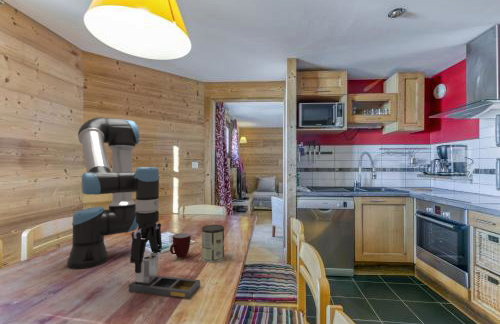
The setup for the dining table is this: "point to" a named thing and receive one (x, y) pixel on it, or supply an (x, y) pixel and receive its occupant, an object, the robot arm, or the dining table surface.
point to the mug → (181, 244)
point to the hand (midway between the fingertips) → (147, 275)
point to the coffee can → (212, 243)
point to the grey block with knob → (149, 270)
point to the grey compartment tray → (168, 287)
